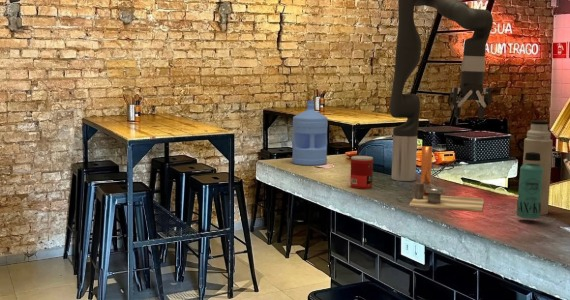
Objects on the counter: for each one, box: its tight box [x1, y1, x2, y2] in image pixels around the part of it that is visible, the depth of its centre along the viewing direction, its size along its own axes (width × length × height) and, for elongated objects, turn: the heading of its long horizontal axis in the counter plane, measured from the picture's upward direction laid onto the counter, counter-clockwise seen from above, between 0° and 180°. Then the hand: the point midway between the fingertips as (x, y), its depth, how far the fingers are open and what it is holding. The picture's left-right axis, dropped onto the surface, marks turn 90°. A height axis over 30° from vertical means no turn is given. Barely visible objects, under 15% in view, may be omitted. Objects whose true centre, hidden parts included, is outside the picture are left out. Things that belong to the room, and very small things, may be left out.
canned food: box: [349, 155, 374, 190], centre depth 235 cm, size 8×8×11 cm
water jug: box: [291, 100, 329, 167], centre depth 290 cm, size 16×16×28 cm
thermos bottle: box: [522, 120, 553, 216], centre depth 196 cm, size 8×8×28 cm
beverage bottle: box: [516, 152, 544, 220], centre depth 184 cm, size 6×7×20 cm
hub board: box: [408, 182, 485, 213], centre depth 209 cm, size 18×22×6 cm
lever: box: [419, 145, 445, 195], centre depth 212 cm, size 17×6×16 cm, turn 1°
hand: (468, 118), depth 219 cm, fingers open, 8 cm apart
